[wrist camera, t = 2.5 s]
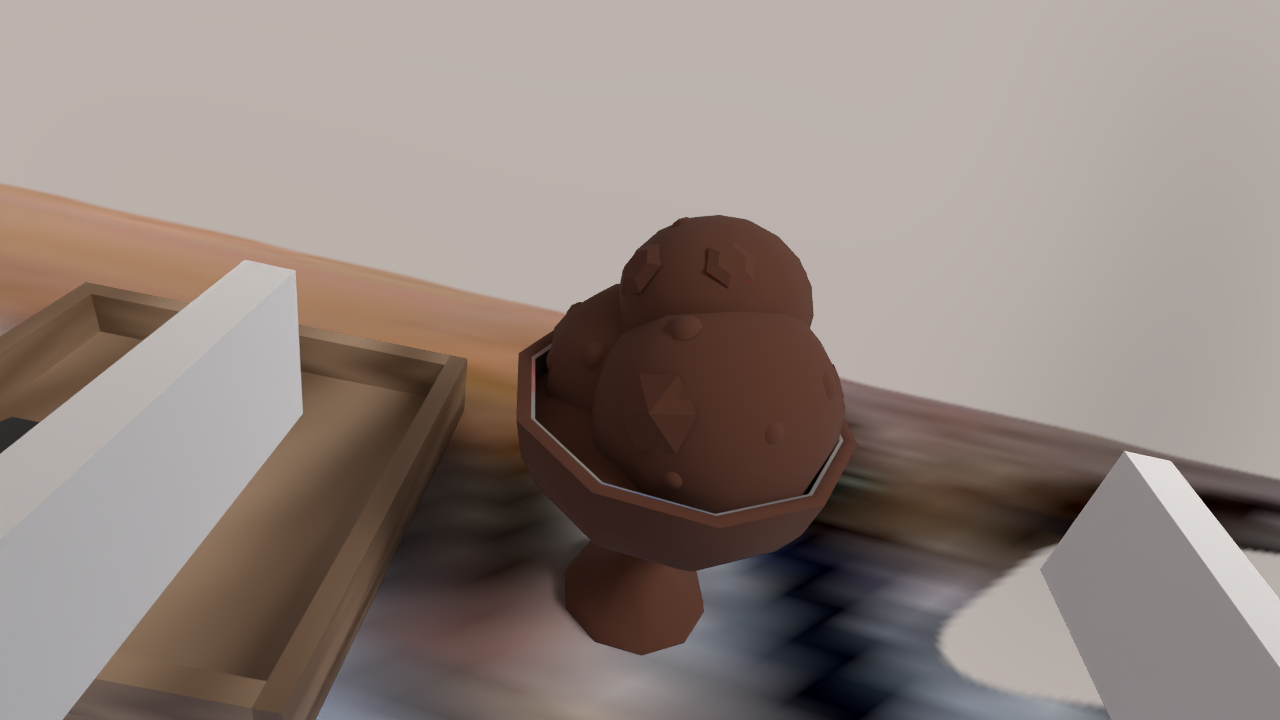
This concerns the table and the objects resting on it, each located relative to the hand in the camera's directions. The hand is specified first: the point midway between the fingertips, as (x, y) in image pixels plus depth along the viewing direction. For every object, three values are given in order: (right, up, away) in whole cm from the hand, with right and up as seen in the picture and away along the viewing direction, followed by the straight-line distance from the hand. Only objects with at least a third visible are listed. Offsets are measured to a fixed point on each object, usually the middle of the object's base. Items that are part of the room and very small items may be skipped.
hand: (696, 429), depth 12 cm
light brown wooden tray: (-19, -4, +17) cm, 25 cm away
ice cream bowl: (-1, -8, +17) cm, 19 cm away
